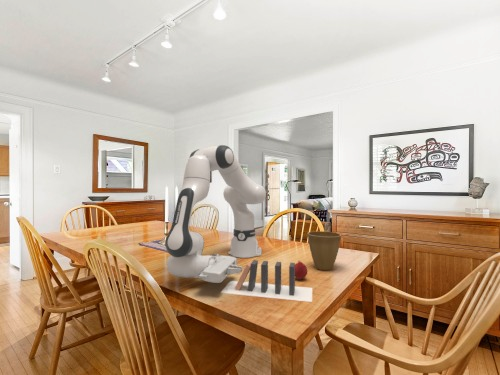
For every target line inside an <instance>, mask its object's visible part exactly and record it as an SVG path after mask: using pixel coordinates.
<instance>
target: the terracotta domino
mask: <svg viewBox="0 0 500 375" xmlns="http://www.w3.org/2000/svg"><path fill="white" fill-rule="evenodd" d="M252 262H253V261H251V260H249V261H248V262H247V264H246V265H245V267H244V268H243V270H242V272H241V275H240V278H238V280H237V281H238V283H237V285H236V287H235V288H236V289H237V290H239V289H240V288H241V286H242V285H243V283H244V282H246V281H245V280H246V279H247V277H248V275H249V274H250V267H251V263H252Z"/></svg>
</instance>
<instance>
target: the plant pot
mask: <svg viewBox="0 0 500 375" xmlns="http://www.w3.org/2000/svg"><path fill="white" fill-rule="evenodd" d="M341 237H342V234H340V233H338V232H333V231H323V230H321V231H320V230H319V231H318V230H317V231H310V232H309V231H308V232H307V239H308V245H309V249H310V254H311V257H312V262H313V264H314V267H315V269H316V270H319V271H331V270H332V269H333V268H334V266H335V263H336V260H337V256H338V253H339V248H340V245H341V244H340V243H341V240H342V238H341Z"/></svg>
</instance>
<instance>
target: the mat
mask: <svg viewBox="0 0 500 375" xmlns="http://www.w3.org/2000/svg"><path fill="white" fill-rule="evenodd" d="M238 281H239V280H237V281H236V280H230V281H229V282H228V283H227V284H226V286H225V287H224V288H223V289H222V290H221V291H220V294H228V295H238V296H247V297H259V298H268V299H279V300H288V301H297V302H298V301H299V302H309V303H312V302H313V287H306V286H296V285H295V292H294V296H292V295H289V285H284V284H283V285H282V284H281V291H280V294H275V283H274V284H273V283H272V284H271V283H268V289H267V291H266V293H261V282H255V287H254V289H253V291H252V292H251V291H248V284H249V281H244V283H243V285H242V286H241V288H240V289H239V290H237V289H236V288H235V287H236V285H237V283H238Z"/></svg>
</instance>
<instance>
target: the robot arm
mask: <svg viewBox="0 0 500 375" xmlns="http://www.w3.org/2000/svg"><path fill="white" fill-rule="evenodd" d="M215 171H218V172H219V174H220V176H221V178H222V179H223V181H224V182H225V184H226V185H227V186H225V188H224V189H223V194H222V195H223V198H224V200H225V201H226V202H227V203H228V204H229V206H230V208H231V209H232V213H233V214H232V215H233V221H234V222H233V223H234V224H233V225H234V228H233V237H231V239H230V250H229V251H228V253H227V254H228V255H219V253H214V254H207V255H203V251H204V246H205V240H204V236H203V235H202V234H201V233H199V232H198V231H193V230H190V224H191V219H192V213H193V209H194V207H195V206H196V205H197V203H199V202H201V201H203V200H205V199H206V198H207V197H208V194H209V191H210V185H211V172H215ZM183 173H184V174H183V181H182V187H181V190H180V193H179V195H178V197H177V200H176V204H175V210H174V214H173V219H172V223H171V227H170V229H169V231H168V234H167V236H166V238H165V241H164V242H165V244H164V245H165V249H166V252H167V253H168V254H169V256H168V258H167V260H166V269H167V271H168V273H169V274H171V275H172V276H173V277H174V276H175V277H179V278H185V279H190V278H195V279H199V280H203V281H204V282H206V283H207V282H208V283H215V284H220V283H222V282H223V281H224V280H225V279H226V278H227V277H228V275H235V274H239V275H240V274H242V273H243V271H244V268H243V266H241V265H239V266H238V265H237V264H238V258H240V259H241V258H242V259H243V258H244V259H246V258H253V257H259V256H262V247H261V246H259V245H258V244H259V243H258V238H257V237H256V227H255V215H254V213H253V212H252V211H250V210H249V208H248V206H247V205H259V204H262V203H264V201H265V199H266V197H267V191H266V189H265V187H264V186H263V185H261V184H259V183H257V182H256V181H254V180H253V179H251V178H250V177H249V175H247V174H246V173H245V171H244V169H243V168H242V166H241V163H240V162H239V160H238V159H237V157H236V156H235V155H234V151H233V149H232V148H231V147H230V146H228V145H223V144H221V145H214V146H207V147H204V148H200V149H196V150H193V151H192V152H191V154H190V155H189V157H188V159H187V163H186V166H185V170H184V172H183ZM229 255H230V256H229Z"/></svg>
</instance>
